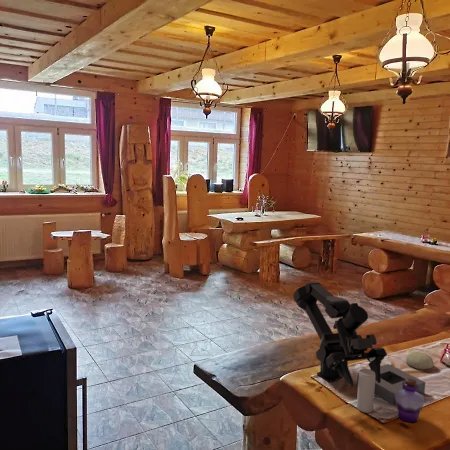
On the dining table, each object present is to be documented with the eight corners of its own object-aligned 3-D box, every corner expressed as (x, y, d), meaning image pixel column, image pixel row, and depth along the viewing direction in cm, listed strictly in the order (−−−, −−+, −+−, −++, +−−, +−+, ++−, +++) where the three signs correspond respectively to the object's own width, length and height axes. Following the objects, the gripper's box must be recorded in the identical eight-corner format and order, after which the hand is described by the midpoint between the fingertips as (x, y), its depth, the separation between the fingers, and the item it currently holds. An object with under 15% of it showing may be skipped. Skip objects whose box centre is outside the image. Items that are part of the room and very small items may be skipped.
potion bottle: (397, 406, 137) (400, 370, 136) (427, 417, 132) (430, 379, 130) (387, 418, 131) (390, 380, 129) (418, 430, 125) (421, 390, 124)
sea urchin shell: (407, 352, 173) (423, 342, 169) (421, 370, 170) (438, 360, 166) (400, 360, 165) (418, 350, 161) (415, 379, 163) (433, 369, 159)
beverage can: (374, 414, 133) (376, 376, 131) (357, 412, 134) (359, 374, 132) (372, 406, 138) (374, 369, 136) (355, 404, 139) (358, 367, 137)
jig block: (356, 384, 151) (357, 372, 151) (387, 374, 158) (388, 363, 158) (392, 405, 138) (393, 393, 138) (424, 393, 146) (425, 382, 145)
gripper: (332, 327, 135) (350, 379, 126) (385, 322, 140) (406, 371, 131) (318, 342, 143) (334, 391, 134) (369, 337, 149) (387, 384, 140)
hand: (366, 384), depth 135 cm, fingers open, 9 cm apart
